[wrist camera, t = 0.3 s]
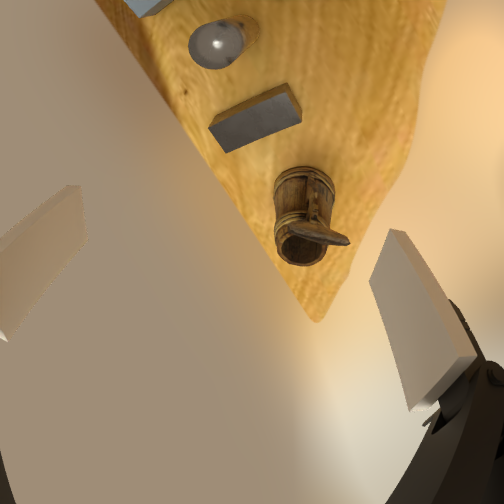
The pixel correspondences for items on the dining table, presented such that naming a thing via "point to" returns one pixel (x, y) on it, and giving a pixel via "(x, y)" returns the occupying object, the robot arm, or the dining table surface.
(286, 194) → the wooden mug
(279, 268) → the dining table surface
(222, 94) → the dining table surface
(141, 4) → the bore block
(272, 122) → the square bar
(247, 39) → the ball
